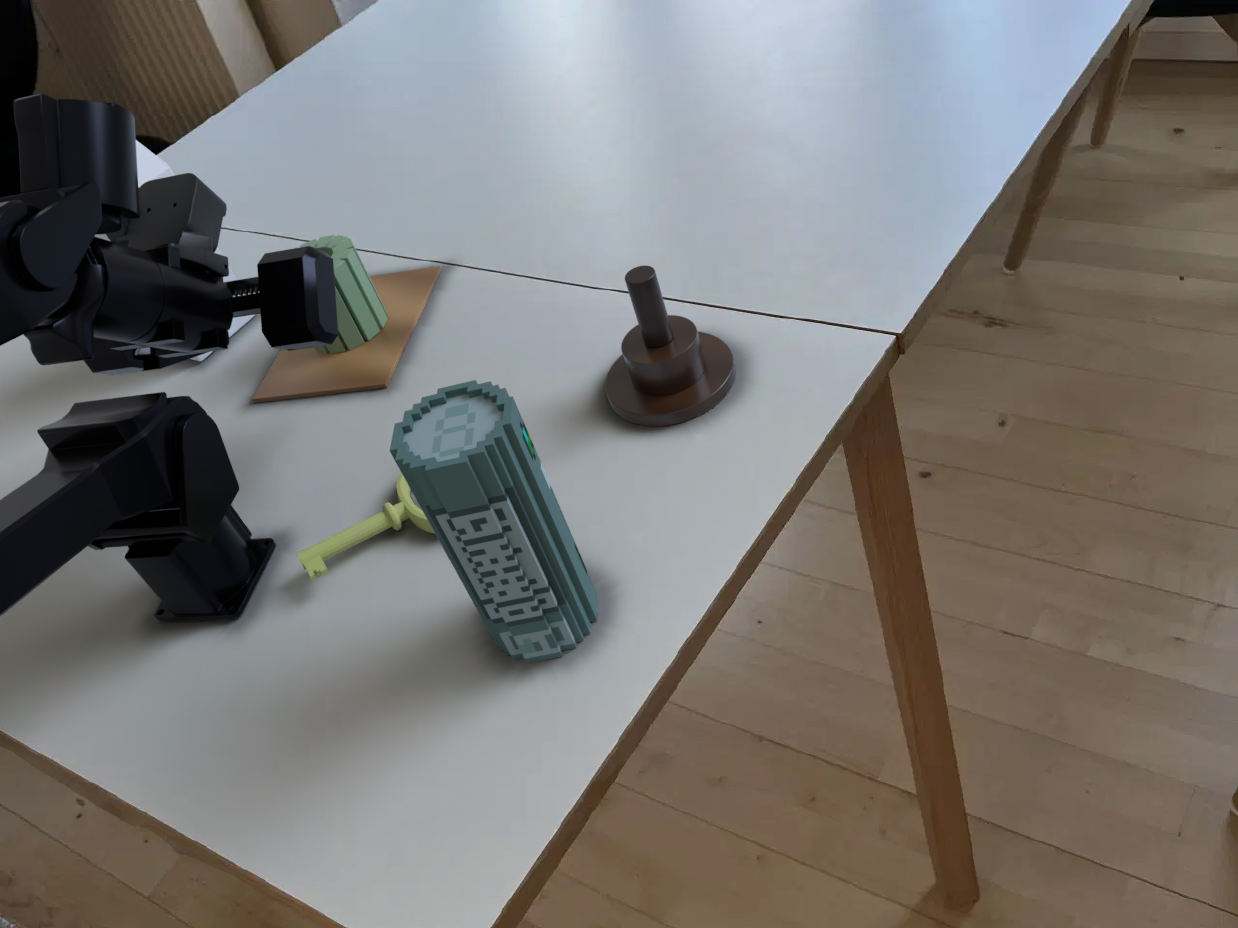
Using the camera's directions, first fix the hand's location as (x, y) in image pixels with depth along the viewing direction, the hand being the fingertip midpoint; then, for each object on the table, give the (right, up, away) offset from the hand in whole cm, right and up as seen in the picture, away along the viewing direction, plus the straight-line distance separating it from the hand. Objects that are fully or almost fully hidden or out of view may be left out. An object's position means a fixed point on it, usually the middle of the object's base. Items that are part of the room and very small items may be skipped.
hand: (279, 330), depth 80 cm
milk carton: (-12, +2, +17) cm, 21 cm away
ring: (+3, +1, +10) cm, 10 cm away
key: (+11, -14, -9) cm, 20 cm away
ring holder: (+29, -4, -6) cm, 30 cm away
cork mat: (+3, +1, +10) cm, 10 cm away
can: (+21, -19, -19) cm, 34 cm away
